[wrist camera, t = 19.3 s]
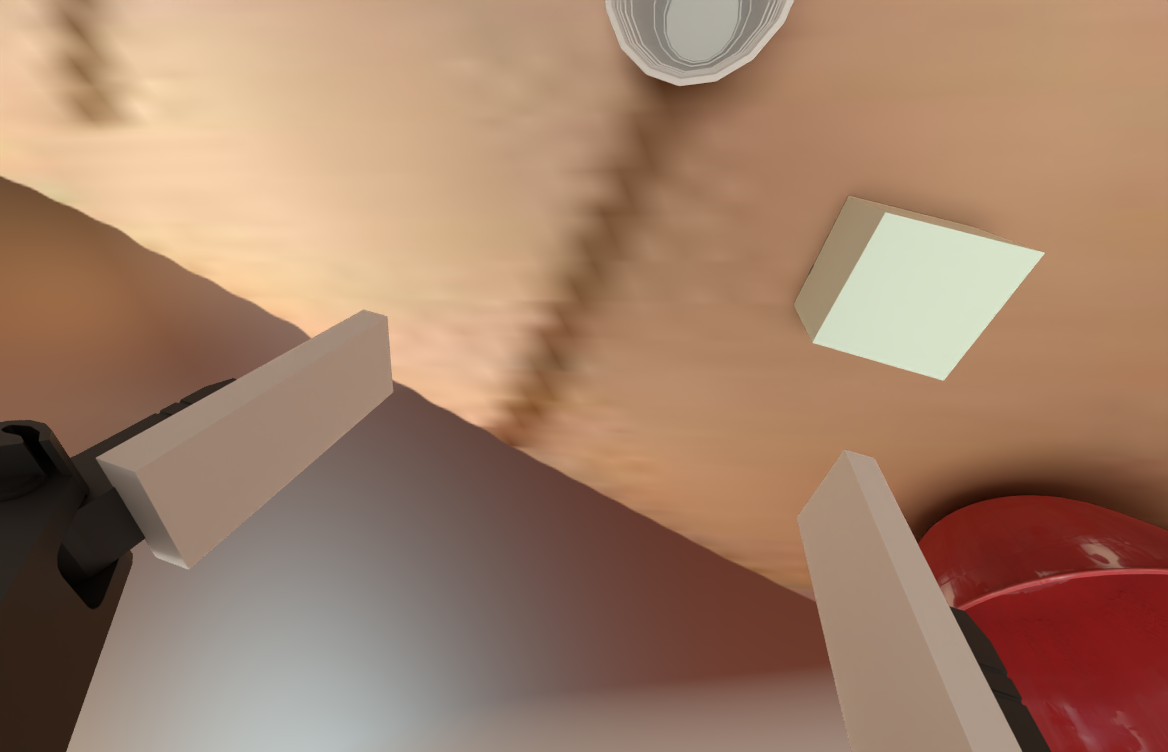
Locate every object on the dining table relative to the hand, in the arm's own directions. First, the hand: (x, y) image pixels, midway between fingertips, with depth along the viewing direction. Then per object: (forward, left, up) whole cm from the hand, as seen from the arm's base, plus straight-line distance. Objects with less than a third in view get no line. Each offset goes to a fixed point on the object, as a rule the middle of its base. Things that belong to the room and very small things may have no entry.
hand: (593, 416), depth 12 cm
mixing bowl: (+24, +47, -34) cm, 63 cm away
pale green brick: (0, +19, -34) cm, 38 cm away
